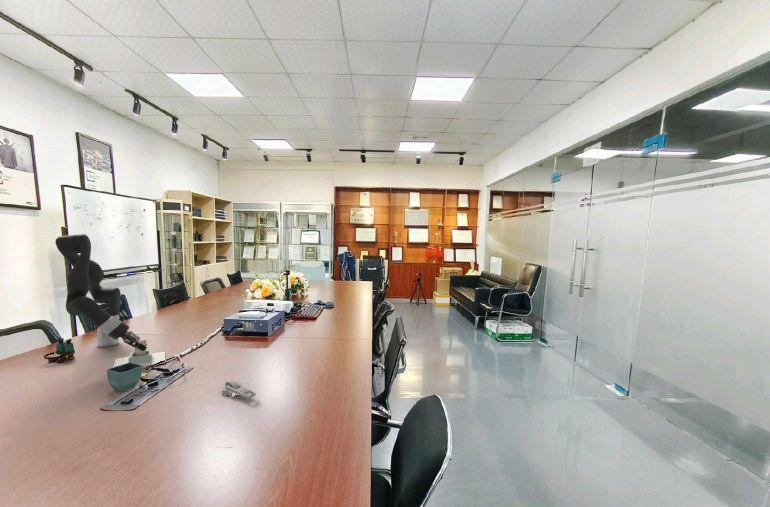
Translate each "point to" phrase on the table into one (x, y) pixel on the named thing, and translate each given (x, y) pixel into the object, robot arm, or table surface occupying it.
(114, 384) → the flower pot
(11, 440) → the table surface
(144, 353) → the beige upright block
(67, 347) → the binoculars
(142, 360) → the holder
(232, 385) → the zipper pull
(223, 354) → the table surface
